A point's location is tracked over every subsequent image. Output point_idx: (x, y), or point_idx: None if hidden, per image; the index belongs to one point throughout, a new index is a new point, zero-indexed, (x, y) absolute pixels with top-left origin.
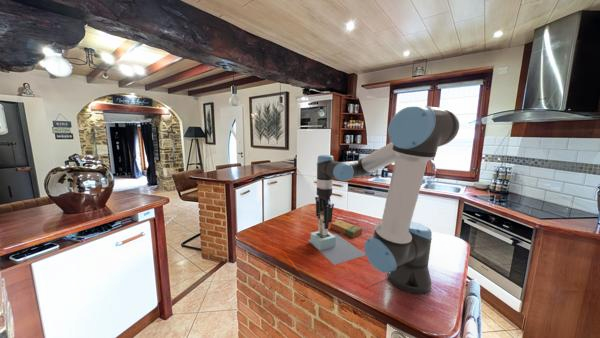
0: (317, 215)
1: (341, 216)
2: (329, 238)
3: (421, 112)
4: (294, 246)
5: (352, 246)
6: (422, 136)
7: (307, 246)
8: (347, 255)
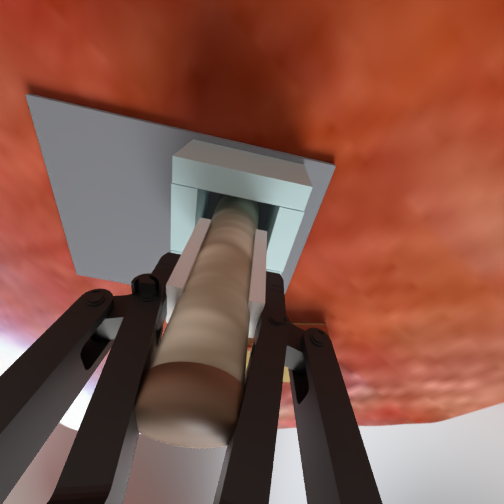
0: (304, 338)
1: (360, 400)
2: (172, 229)
3: None
4: (357, 22)
5: None
6: None
7: (287, 116)
8: (94, 218)
